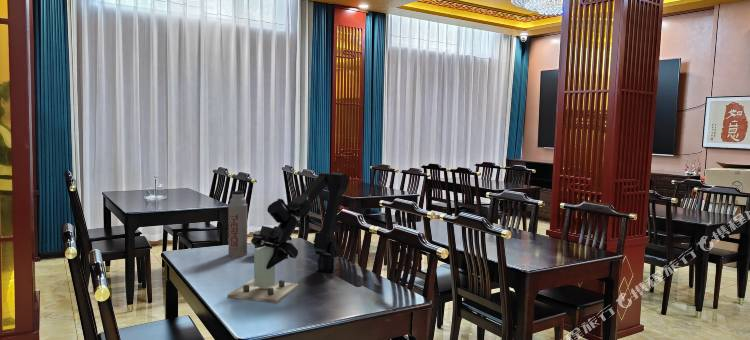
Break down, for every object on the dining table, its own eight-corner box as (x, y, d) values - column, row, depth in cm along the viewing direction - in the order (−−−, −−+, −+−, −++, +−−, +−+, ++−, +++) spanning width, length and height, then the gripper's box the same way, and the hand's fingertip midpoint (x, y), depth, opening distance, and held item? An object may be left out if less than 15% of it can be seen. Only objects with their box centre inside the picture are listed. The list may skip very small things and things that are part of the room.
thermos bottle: (238, 257, 226) (238, 193, 224) (224, 255, 230) (224, 191, 228) (251, 253, 234) (251, 191, 231) (237, 251, 237) (237, 189, 235)
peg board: (298, 286, 190) (298, 278, 190) (277, 303, 172) (277, 294, 172) (252, 281, 194) (252, 273, 194) (227, 297, 177) (227, 288, 176)
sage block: (264, 282, 187) (265, 246, 185) (274, 285, 184) (275, 248, 182) (254, 285, 183) (254, 248, 181) (264, 288, 180) (264, 251, 178)
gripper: (254, 213, 189) (230, 249, 182) (292, 220, 179) (268, 259, 171) (270, 231, 197) (248, 267, 189) (308, 239, 186) (285, 277, 178)
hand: (261, 267), depth 181 cm, fingers closed on sage block, 5 cm apart
